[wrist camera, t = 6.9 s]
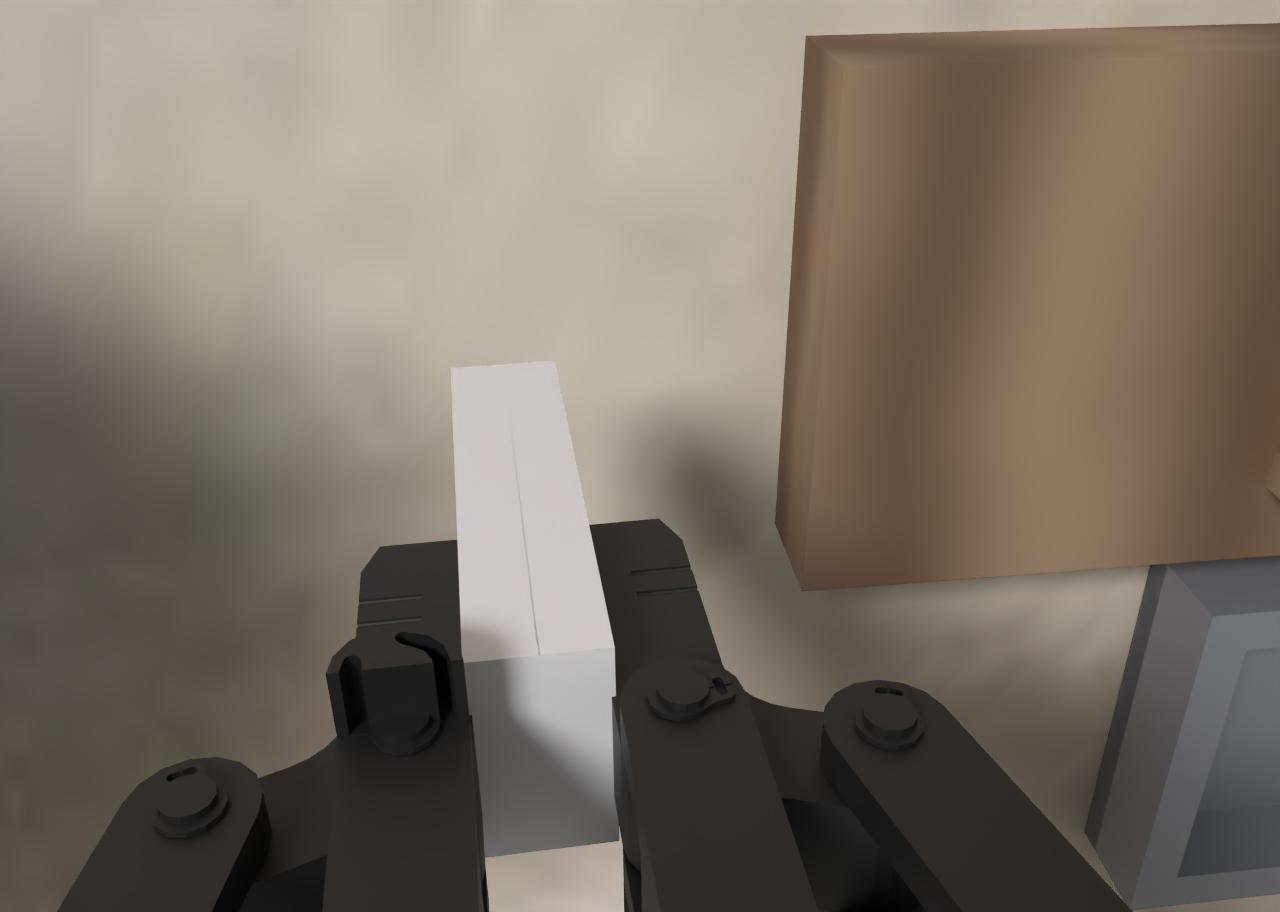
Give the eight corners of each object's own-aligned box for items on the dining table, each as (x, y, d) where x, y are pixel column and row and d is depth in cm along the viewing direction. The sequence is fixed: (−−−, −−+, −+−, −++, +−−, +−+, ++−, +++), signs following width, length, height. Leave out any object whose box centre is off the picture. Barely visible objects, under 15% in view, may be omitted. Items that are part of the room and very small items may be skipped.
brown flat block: (769, 509, 26) (817, 629, 23) (798, 30, 21) (865, 84, 18) (1449, 463, 28) (1595, 567, 24) (1622, 8, 23) (1838, 53, 19)
